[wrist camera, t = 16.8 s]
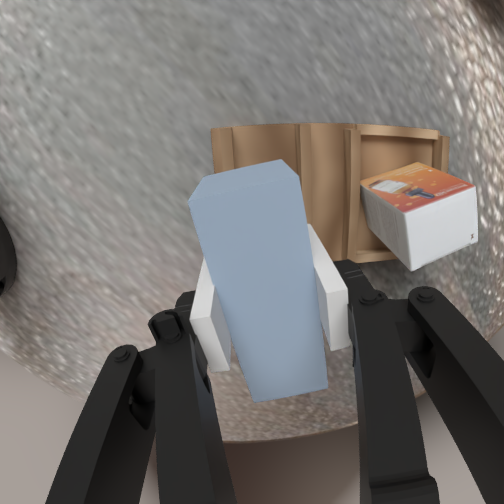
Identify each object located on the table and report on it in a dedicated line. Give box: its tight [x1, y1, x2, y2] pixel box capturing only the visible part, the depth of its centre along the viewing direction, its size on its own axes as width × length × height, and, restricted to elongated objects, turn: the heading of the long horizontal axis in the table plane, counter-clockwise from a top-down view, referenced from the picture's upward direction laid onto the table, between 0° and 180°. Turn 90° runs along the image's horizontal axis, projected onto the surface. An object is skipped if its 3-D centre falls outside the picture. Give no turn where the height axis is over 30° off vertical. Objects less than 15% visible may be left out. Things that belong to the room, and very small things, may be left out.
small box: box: [360, 162, 478, 271], centre depth 27 cm, size 8×6×10 cm
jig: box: [211, 123, 450, 263], centre depth 31 cm, size 25×15×4 cm, turn 94°
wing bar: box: [188, 159, 328, 403], centre depth 15 cm, size 4×11×5 cm, turn 12°
